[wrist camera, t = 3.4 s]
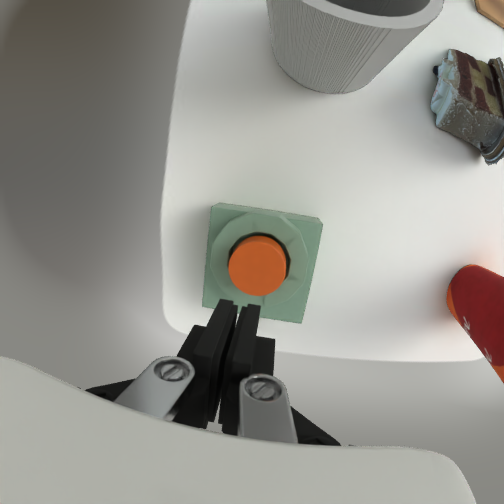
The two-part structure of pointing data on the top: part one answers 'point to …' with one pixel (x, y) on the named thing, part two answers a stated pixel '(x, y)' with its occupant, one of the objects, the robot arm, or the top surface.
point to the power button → (257, 266)
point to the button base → (280, 230)
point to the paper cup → (480, 310)
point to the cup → (343, 38)
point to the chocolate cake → (471, 102)
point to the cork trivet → (492, 10)
